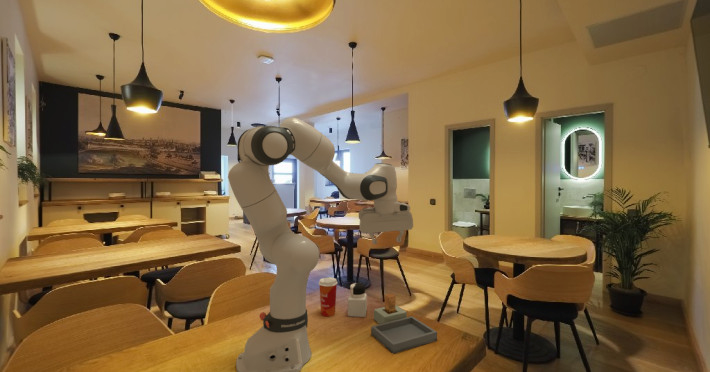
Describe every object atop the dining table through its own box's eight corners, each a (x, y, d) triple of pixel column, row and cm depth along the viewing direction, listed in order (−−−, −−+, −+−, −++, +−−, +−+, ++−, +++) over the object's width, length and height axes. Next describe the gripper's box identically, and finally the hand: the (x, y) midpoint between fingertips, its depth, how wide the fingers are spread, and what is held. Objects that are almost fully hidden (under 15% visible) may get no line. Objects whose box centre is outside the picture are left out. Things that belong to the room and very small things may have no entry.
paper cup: (316, 311, 134) (316, 278, 133) (333, 308, 137) (333, 275, 137) (322, 319, 127) (322, 284, 126) (340, 315, 130) (340, 281, 129)
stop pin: (388, 323, 123) (389, 297, 123) (384, 320, 126) (384, 294, 126) (395, 321, 125) (395, 296, 124) (391, 318, 127) (391, 293, 127)
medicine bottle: (366, 309, 136) (366, 281, 135) (365, 317, 129) (365, 287, 128) (349, 309, 136) (349, 281, 136) (347, 316, 129) (347, 287, 129)
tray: (393, 353, 102) (393, 344, 102) (371, 334, 115) (371, 326, 115) (437, 340, 110) (437, 332, 110) (411, 323, 123) (412, 316, 123)
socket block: (384, 327, 120) (384, 317, 119) (373, 319, 127) (373, 309, 127) (406, 322, 124) (406, 312, 124) (394, 314, 131) (394, 304, 131)
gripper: (360, 209, 115) (361, 247, 117) (414, 205, 119) (415, 242, 120) (356, 207, 122) (358, 243, 123) (408, 203, 125) (409, 238, 126)
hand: (386, 242), depth 121 cm, fingers open, 8 cm apart
